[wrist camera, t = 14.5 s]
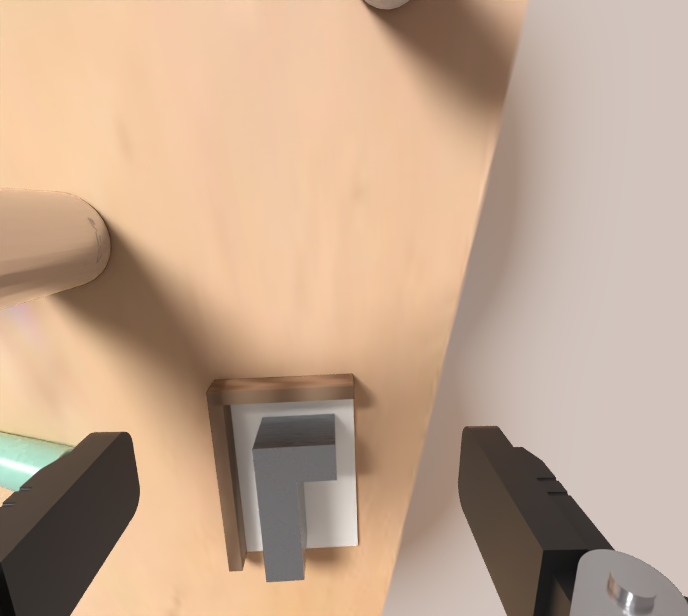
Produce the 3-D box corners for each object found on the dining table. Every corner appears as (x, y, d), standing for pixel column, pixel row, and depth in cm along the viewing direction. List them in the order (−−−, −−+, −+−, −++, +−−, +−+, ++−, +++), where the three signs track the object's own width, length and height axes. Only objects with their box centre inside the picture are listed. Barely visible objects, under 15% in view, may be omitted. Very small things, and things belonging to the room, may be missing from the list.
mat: (247, 549, 49) (247, 551, 48) (229, 392, 43) (228, 393, 43) (357, 542, 49) (357, 545, 49) (352, 386, 44) (352, 387, 43)
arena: (235, 549, 49) (229, 571, 46) (214, 380, 43) (206, 392, 40) (357, 542, 49) (359, 563, 46) (352, 373, 43) (353, 385, 40)
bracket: (262, 417, 44) (252, 449, 38) (334, 413, 44) (335, 444, 38) (274, 536, 48) (266, 582, 42) (340, 532, 48) (341, 577, 42)
